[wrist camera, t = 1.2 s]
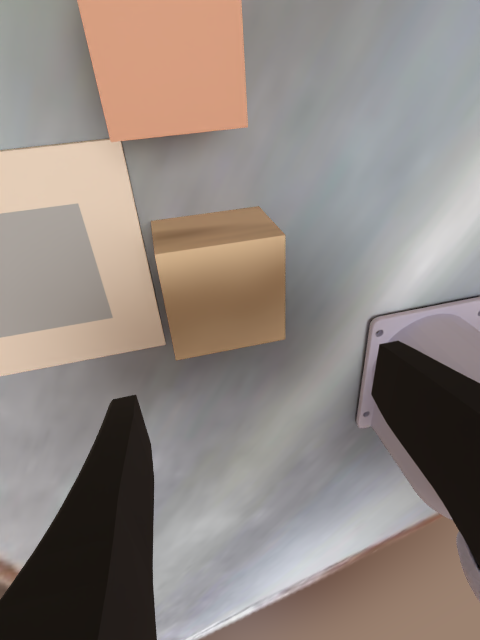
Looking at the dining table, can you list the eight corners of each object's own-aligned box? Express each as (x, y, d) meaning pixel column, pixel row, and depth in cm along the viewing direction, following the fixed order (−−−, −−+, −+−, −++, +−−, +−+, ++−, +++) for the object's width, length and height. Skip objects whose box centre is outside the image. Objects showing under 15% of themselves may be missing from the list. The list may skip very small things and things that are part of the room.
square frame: (165, 340, 21) (165, 344, 20) (-36, 378, 19) (-39, 383, 19) (120, 137, 15) (119, 138, 15) (-167, 168, 14) (-174, 170, 13)
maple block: (261, 297, 21) (285, 339, 18) (169, 313, 20) (176, 360, 17) (257, 205, 18) (285, 235, 15) (150, 220, 17) (154, 254, 14)
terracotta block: (218, 112, 16) (247, 127, 11) (117, 122, 15) (110, 141, 11) (206, -18, 13) (238, -58, 9) (87, -12, 13) (65, -51, 9)
